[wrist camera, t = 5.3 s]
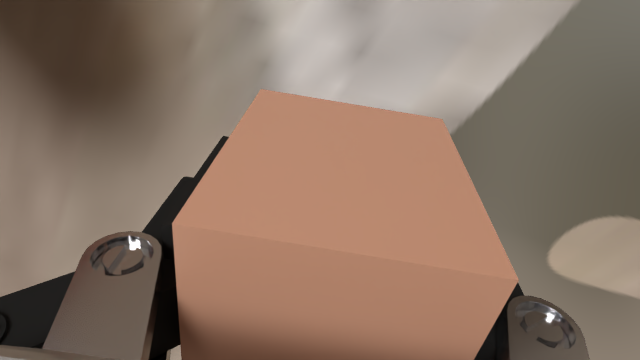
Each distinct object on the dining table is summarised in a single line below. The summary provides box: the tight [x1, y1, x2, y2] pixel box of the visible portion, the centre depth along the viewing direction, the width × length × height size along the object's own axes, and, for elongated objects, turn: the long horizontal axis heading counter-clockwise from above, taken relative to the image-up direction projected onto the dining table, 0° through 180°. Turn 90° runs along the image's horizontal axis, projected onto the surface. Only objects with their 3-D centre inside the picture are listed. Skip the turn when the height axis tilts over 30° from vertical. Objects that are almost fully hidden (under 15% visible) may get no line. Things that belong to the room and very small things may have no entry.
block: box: [172, 89, 519, 360], centre depth 9 cm, size 5×5×6 cm
